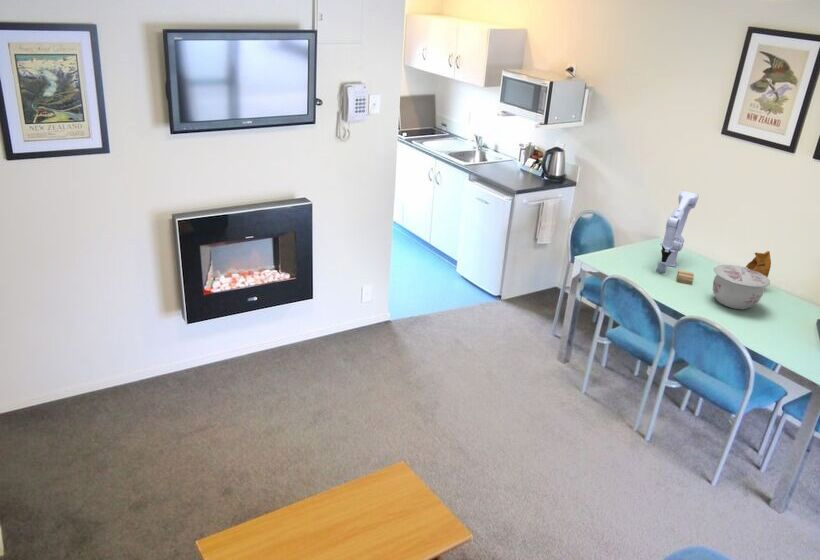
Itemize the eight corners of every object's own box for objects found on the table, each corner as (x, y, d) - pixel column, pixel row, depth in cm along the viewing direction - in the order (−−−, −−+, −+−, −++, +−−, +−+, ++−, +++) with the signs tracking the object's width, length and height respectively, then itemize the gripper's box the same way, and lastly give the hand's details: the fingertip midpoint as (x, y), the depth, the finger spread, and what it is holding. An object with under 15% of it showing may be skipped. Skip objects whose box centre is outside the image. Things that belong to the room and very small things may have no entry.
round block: (656, 269, 391) (658, 262, 389) (665, 271, 390) (667, 264, 388) (655, 272, 387) (657, 265, 385) (664, 274, 386) (666, 267, 384)
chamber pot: (728, 317, 340) (740, 280, 331) (694, 293, 364) (704, 258, 355) (773, 314, 348) (786, 278, 339) (737, 291, 371) (748, 257, 363)
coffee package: (735, 285, 379) (747, 249, 370) (751, 283, 384) (763, 247, 375) (749, 292, 371) (761, 256, 362) (766, 290, 376) (778, 254, 366)
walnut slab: (676, 277, 383) (677, 273, 382) (691, 280, 381) (692, 276, 380) (676, 282, 376) (677, 278, 375) (691, 285, 374) (692, 281, 373)
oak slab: (677, 273, 382) (678, 269, 381) (692, 276, 380) (693, 272, 379) (677, 278, 375) (678, 274, 374) (692, 281, 373) (693, 277, 372)
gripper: (662, 232, 387) (657, 254, 393) (661, 240, 374) (656, 262, 380) (675, 234, 385) (669, 256, 391) (674, 242, 372) (668, 265, 378)
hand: (663, 259), depth 385 cm, fingers open, 7 cm apart
